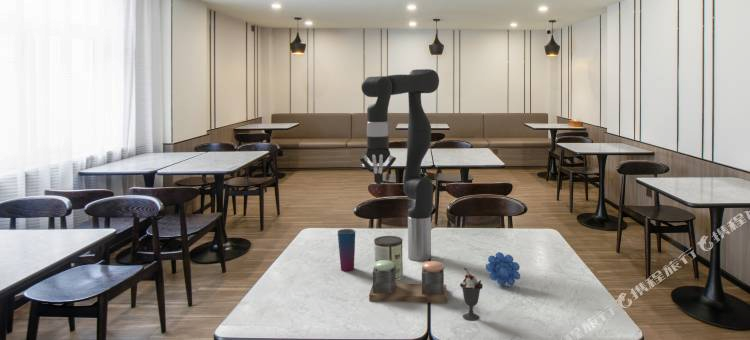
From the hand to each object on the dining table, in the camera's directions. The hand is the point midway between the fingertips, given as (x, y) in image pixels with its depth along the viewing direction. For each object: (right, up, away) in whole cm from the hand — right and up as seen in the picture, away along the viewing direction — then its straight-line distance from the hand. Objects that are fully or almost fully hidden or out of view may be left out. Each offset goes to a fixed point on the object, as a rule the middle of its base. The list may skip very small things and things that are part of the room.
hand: (378, 183), depth 185 cm
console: (+10, -37, -11) cm, 40 cm away
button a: (+2, -33, -10) cm, 35 cm away
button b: (+18, -33, -12) cm, 40 cm away
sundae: (+27, -39, -28) cm, 56 cm away
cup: (-12, -33, +16) cm, 39 cm away
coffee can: (+4, -34, +7) cm, 35 cm away
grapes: (+43, -36, -5) cm, 56 cm away
